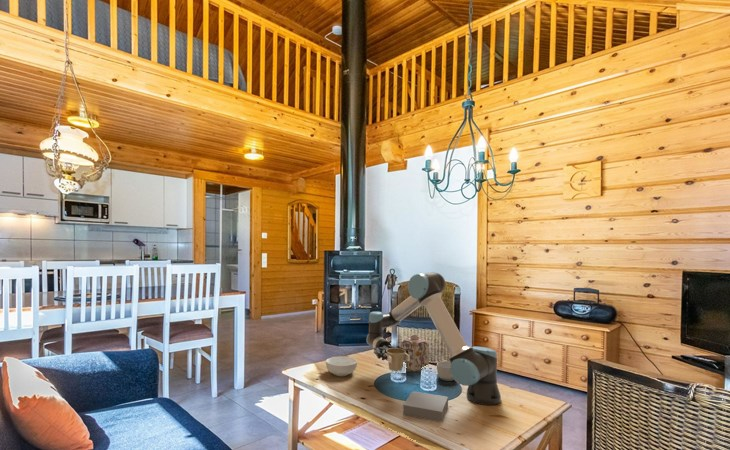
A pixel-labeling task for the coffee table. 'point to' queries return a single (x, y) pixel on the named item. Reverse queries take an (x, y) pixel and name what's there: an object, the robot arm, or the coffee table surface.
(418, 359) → the decorative jar
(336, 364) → the cereal bowl
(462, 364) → the robot arm
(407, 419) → the coffee table surface
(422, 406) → the plinth
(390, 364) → the flower pot
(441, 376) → the teacup
